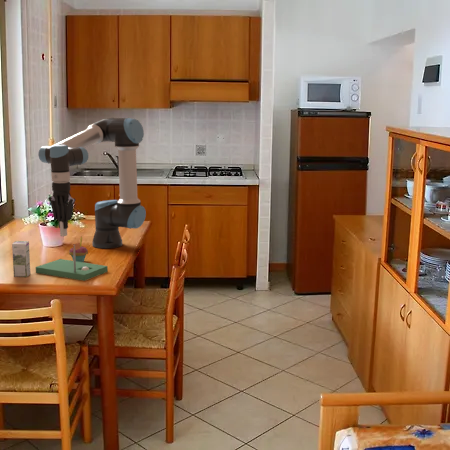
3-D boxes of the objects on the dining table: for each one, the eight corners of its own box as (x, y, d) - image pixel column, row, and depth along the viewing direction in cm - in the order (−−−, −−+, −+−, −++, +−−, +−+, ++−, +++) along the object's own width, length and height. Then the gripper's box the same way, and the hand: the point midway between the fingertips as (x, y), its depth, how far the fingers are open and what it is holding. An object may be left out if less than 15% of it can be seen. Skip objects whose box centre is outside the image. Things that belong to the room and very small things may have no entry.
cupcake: (80, 258, 297) (79, 233, 295) (92, 261, 292) (91, 236, 290) (65, 261, 291) (64, 236, 288) (77, 264, 285) (76, 238, 283)
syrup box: (30, 273, 270) (29, 240, 267) (27, 277, 264) (25, 243, 262) (17, 273, 270) (15, 240, 267) (13, 277, 264) (11, 243, 261)
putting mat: (60, 264, 286) (59, 232, 283) (107, 271, 275) (106, 239, 272) (35, 272, 272) (34, 239, 269) (84, 280, 261) (83, 246, 258)
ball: (87, 263, 271) (92, 269, 270) (83, 269, 272) (88, 275, 272) (81, 265, 268) (87, 271, 267) (78, 271, 269) (83, 277, 269)
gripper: (42, 181, 267) (46, 236, 272) (67, 184, 261) (70, 239, 267) (54, 179, 273) (57, 232, 279) (78, 181, 268) (81, 235, 273)
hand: (63, 235), depth 273 cm, fingers closed
